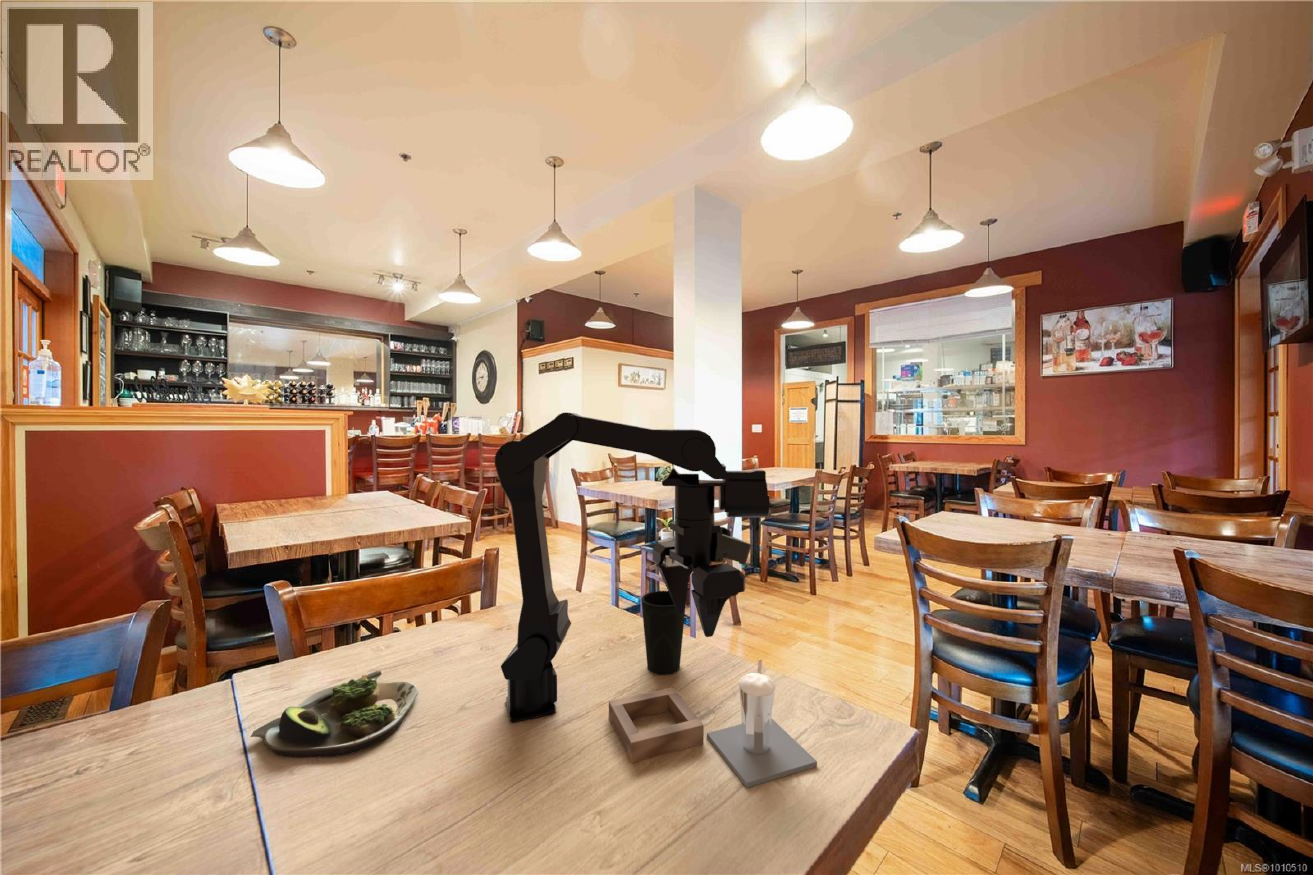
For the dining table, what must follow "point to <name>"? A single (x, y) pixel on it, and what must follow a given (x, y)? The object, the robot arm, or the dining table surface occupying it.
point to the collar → (656, 740)
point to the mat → (761, 755)
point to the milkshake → (756, 710)
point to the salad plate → (339, 719)
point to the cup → (662, 632)
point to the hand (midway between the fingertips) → (694, 623)
